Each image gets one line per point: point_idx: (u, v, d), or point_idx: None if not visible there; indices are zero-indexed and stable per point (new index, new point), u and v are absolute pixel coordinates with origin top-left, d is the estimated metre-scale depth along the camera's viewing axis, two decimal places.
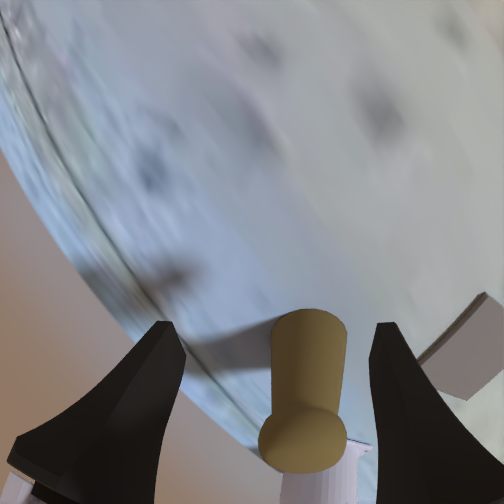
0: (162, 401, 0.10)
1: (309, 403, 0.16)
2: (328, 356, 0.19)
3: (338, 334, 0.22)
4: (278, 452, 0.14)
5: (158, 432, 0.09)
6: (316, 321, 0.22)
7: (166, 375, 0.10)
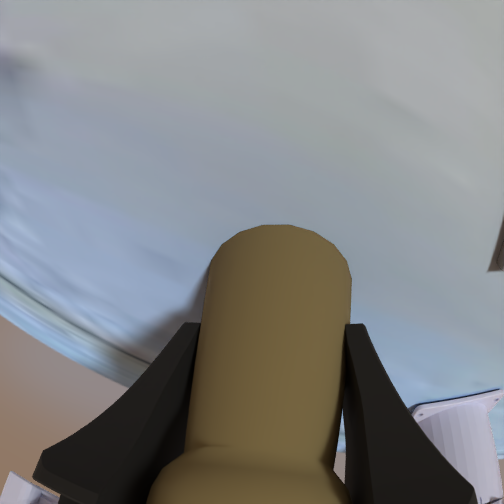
0: None
1: (209, 448, 0.06)
2: (265, 314, 0.09)
3: (296, 255, 0.10)
4: None
5: None
6: (242, 251, 0.11)
7: None
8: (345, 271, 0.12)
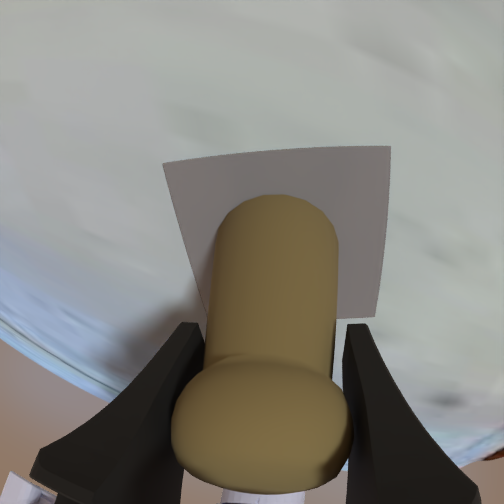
0: None
1: (229, 357, 0.08)
2: (269, 256, 0.11)
3: (291, 216, 0.13)
4: (191, 470, 0.07)
5: None
6: (247, 215, 0.13)
7: (192, 378, 0.10)
8: (332, 233, 0.14)
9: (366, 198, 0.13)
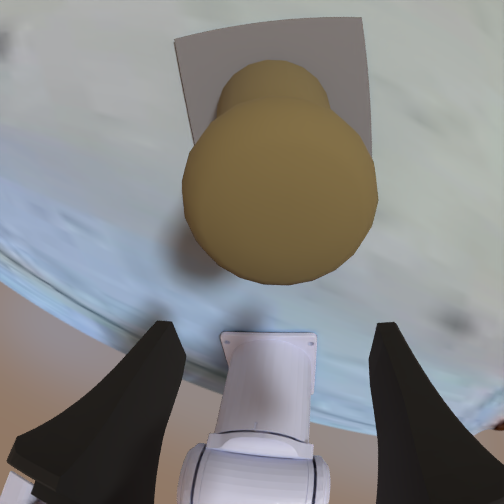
0: (162, 401, 0.10)
1: None
2: (257, 79, 0.11)
3: (274, 65, 0.13)
4: (205, 224, 0.07)
5: (158, 432, 0.09)
6: (237, 76, 0.14)
7: (166, 375, 0.10)
8: (316, 80, 0.14)
9: (347, 59, 0.14)
